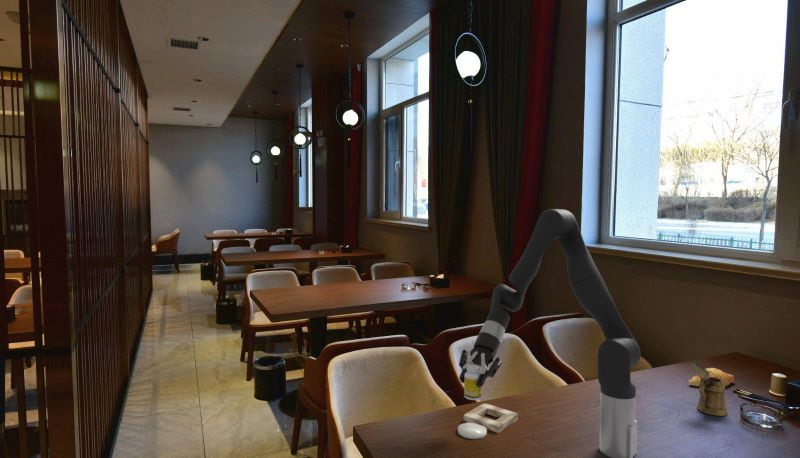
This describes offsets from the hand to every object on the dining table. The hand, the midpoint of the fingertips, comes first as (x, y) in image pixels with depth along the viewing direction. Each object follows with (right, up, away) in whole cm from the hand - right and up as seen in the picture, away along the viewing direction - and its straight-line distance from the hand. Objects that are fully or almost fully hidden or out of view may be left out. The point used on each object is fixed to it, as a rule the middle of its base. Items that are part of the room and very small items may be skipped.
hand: (469, 383), depth 149 cm
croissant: (+103, -15, +44) cm, 113 cm away
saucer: (+1, -16, +2) cm, 16 cm away
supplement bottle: (+1, -5, +2) cm, 5 cm away
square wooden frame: (+8, -15, +11) cm, 21 cm away
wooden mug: (+85, -16, +18) cm, 88 cm away
